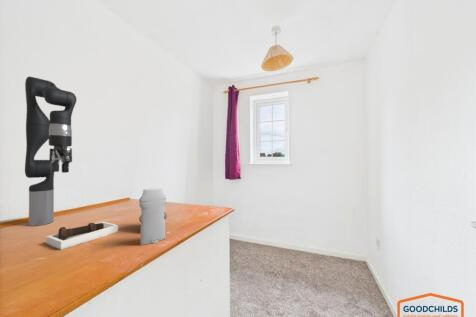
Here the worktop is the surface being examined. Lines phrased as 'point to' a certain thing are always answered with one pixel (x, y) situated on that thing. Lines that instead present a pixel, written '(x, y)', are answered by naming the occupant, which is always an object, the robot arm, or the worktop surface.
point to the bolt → (79, 230)
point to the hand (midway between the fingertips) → (60, 172)
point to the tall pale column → (152, 215)
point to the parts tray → (80, 237)
